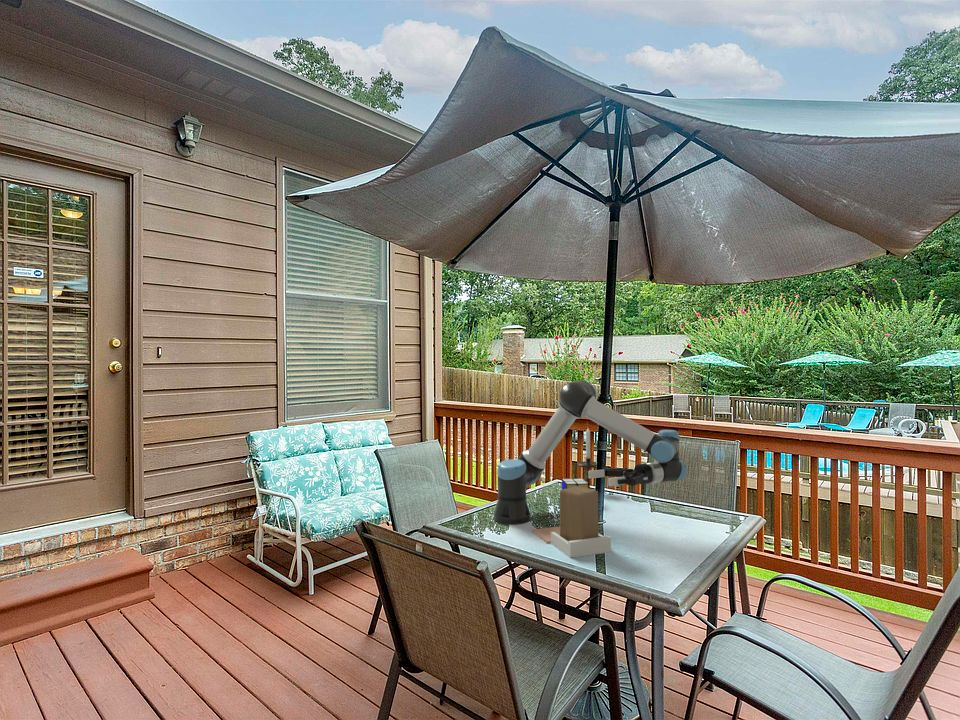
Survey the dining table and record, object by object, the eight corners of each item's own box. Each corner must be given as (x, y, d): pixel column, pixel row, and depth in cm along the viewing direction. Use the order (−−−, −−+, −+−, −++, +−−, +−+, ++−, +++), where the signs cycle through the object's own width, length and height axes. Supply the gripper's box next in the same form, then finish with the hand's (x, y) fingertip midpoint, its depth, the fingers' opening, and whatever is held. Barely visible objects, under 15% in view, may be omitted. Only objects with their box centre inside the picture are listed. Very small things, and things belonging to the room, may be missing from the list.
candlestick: (583, 496, 253) (583, 423, 253) (573, 491, 263) (572, 420, 263) (603, 494, 256) (603, 422, 256) (593, 489, 266) (592, 419, 266)
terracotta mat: (547, 543, 189) (547, 541, 189) (531, 531, 202) (531, 529, 202) (591, 537, 195) (591, 535, 195) (573, 526, 208) (573, 524, 208)
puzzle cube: (561, 500, 246) (561, 478, 246) (583, 499, 247) (582, 478, 247) (566, 506, 236) (566, 484, 236) (588, 505, 237) (588, 483, 237)
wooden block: (577, 540, 192) (577, 484, 192) (599, 547, 184) (599, 490, 184) (558, 546, 186) (558, 489, 186) (581, 554, 178) (580, 494, 178)
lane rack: (610, 552, 180) (610, 537, 180) (570, 557, 175) (570, 542, 175) (589, 538, 194) (589, 524, 194) (551, 543, 189) (550, 529, 189)
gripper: (669, 490, 188) (618, 496, 181) (628, 476, 211) (581, 481, 205) (669, 469, 188) (617, 474, 181) (628, 458, 211) (581, 462, 205)
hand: (598, 478), depth 193 cm, fingers open, 13 cm apart
